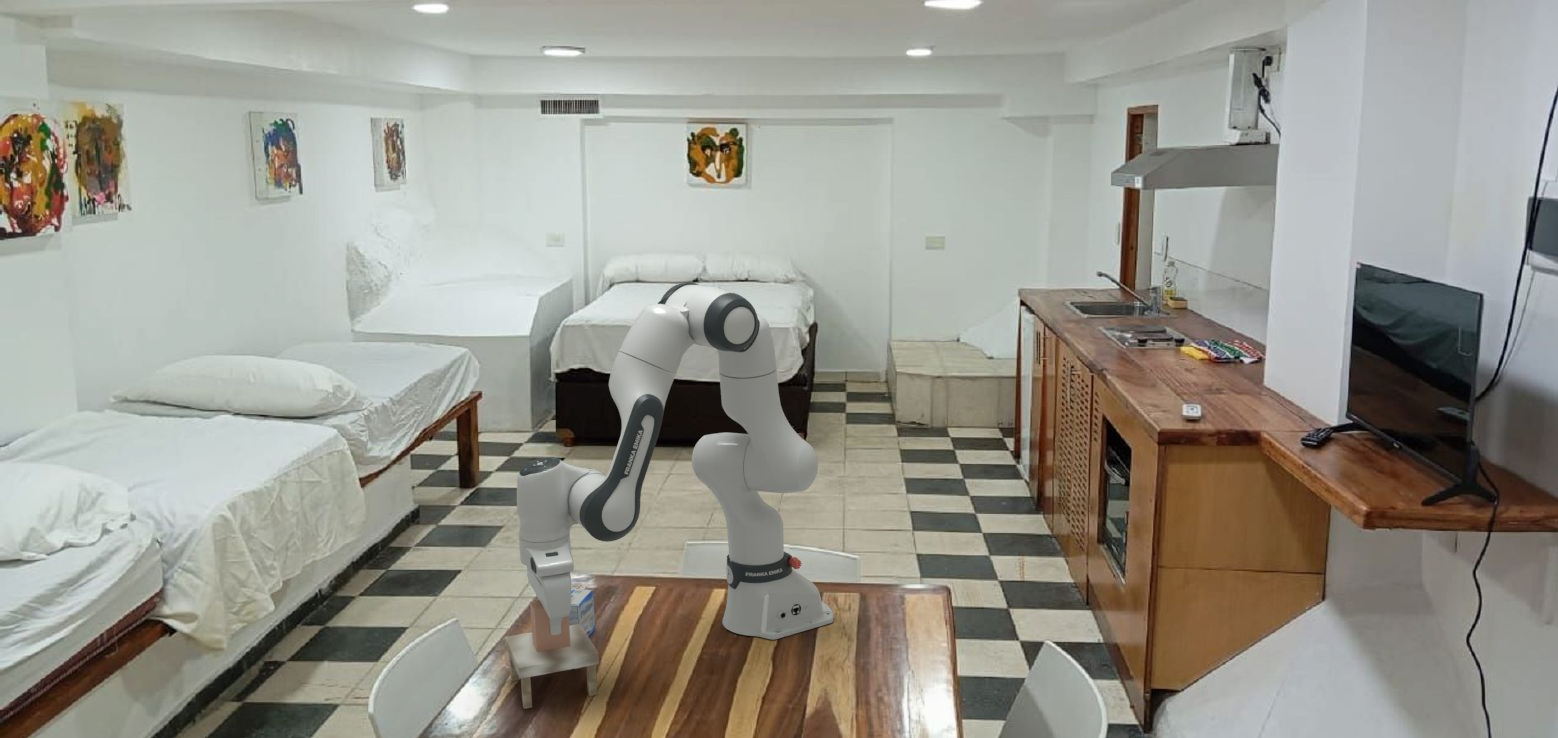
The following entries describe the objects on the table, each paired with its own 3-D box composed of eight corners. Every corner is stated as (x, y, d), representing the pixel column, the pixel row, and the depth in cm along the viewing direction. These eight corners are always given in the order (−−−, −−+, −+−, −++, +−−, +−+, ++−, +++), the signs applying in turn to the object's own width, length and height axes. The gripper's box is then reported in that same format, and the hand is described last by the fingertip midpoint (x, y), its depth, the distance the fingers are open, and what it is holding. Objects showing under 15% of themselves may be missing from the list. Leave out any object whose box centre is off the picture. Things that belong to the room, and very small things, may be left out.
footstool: (582, 663, 228) (580, 623, 227) (600, 695, 215) (598, 653, 214) (507, 677, 223) (504, 636, 221) (521, 710, 210) (518, 667, 209)
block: (532, 643, 218) (530, 601, 217) (565, 637, 221) (563, 596, 219) (537, 652, 215) (534, 609, 213) (570, 646, 217) (568, 604, 215)
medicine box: (581, 646, 236) (579, 604, 234) (560, 645, 236) (557, 603, 235) (595, 630, 243) (593, 589, 241) (574, 628, 244) (572, 588, 242)
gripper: (516, 534, 222) (521, 605, 225) (539, 571, 204) (543, 648, 207) (550, 529, 225) (554, 599, 227) (576, 565, 206) (580, 641, 209)
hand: (549, 623), depth 217 cm, fingers open, 8 cm apart
